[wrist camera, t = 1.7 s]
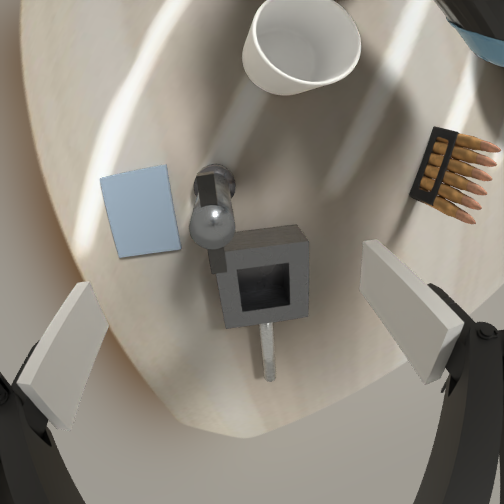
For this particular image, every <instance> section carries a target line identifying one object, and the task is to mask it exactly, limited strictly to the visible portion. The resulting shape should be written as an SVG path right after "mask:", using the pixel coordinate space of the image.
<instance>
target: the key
mask: <svg viewBox="0 0 504 504" xmlns="http://www.w3.org/2000/svg"><path fill="white" fill-rule="evenodd" d="M235 187H236V186H235V180H234V177H233V174H232V173H231V172H230V170H229V169H227V168H226V167H224V166H222V165H217V164H213V165H209V166H206V167H204V168H203V169H202V170H201V171H200V172H199V173H197V176H196V179H195V182H194V191H195V194H196V196H197V199H196V202H195V206H194V210H193V213H192V217H191V221H190V225H189V230H190V235H191V237H192V239H193V240H194V241H195V242H196V243H197V244H198V245H199V246H201V247H203V248H206V249H208V255H209V261H210V266H211V272H212V274H217V273H225V272H227V263H226V256H225V249H224V246H225V245H227V244H228V243H229V242H230V241H231V240H232V238H233V236H234V233H235V222H234V215H233V209H232V202H231V198H232V197H233V195H234V193H235Z"/></svg>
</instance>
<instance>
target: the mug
mask: <svg viewBox="0 0 504 504" xmlns="http://www.w3.org/2000/svg"><path fill="white" fill-rule="evenodd" d="M360 53H361V38H360V34H359V30H358V28H357V26H356V23H355V22H354V20H353V19H352V17H351V16H350V15H349V13H348V12H347V11H346V10H345V9H344V8H343V7H342V6H341V5H339V4H338V3H337V2H335V1H334V0H266V1H265V2H264V3H263V4H262V5H261V6H260V7H259V9H258V10H257V12H256V14H255V16H254V19H253V22H252V24H251V27H250V30H249V33H248V36H247V38H246V41H245V44H244V47H243V52H242V62H243V67H244V69H245V72H246V74H247V75H248V77H249V78H250V79H251V81H252V82H253V83H254V84H255V85H257V86H258V87H259V88H261V89H263V90H264V91H267V92H269V93H272V94H276V95H284V96H285V95H295V94H299V93H302V92H305V91H308V90H312V89H315V88H318V87H322V86H325V85H329V84H332V83H335V82H337V81H340V80H341V79H343V78H345V77H346V76H347V75H348V74H350V72H351V71H352V70H353V69H354V68H355V66H356V64H357V62H358V60H359V57H360Z"/></svg>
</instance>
